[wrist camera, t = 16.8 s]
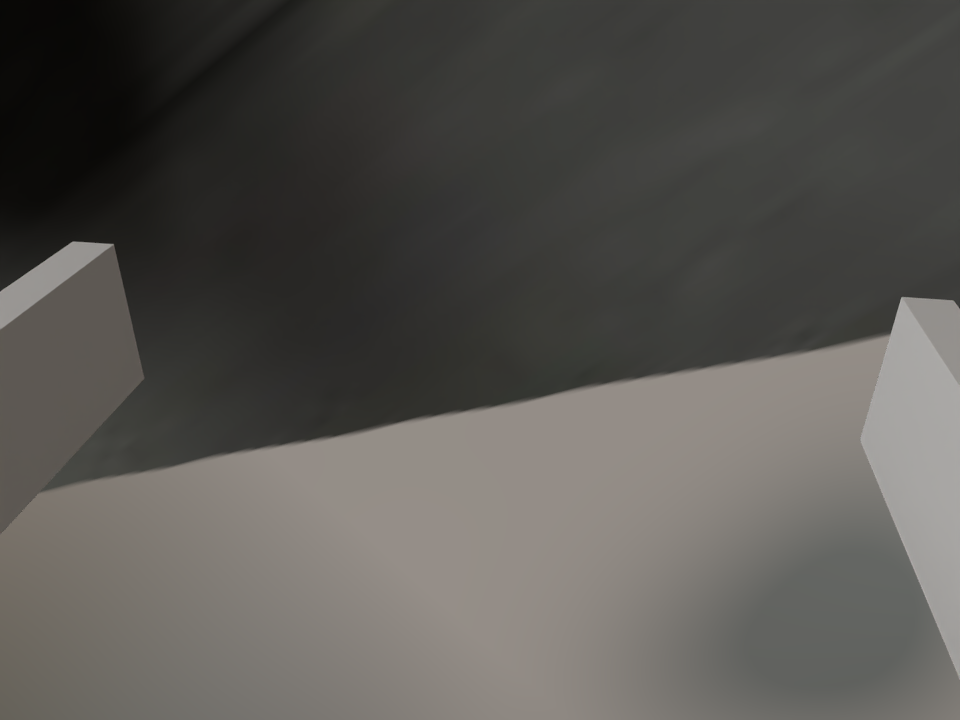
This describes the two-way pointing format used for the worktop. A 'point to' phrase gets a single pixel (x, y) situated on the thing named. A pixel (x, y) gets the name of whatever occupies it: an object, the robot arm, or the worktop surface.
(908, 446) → the robot arm
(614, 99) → the worktop surface
